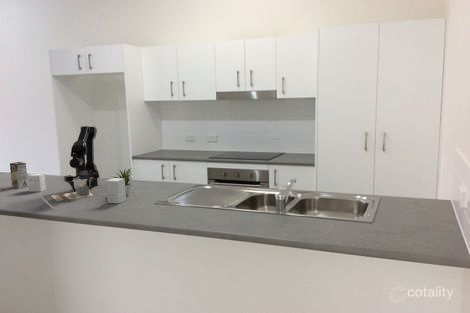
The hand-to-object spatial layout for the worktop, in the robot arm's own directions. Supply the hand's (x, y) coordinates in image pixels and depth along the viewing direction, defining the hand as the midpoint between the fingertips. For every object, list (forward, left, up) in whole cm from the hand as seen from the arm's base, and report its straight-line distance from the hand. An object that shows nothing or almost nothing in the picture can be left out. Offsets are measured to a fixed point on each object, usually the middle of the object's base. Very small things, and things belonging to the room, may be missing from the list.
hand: (82, 191), depth 230 cm
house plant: (-21, +14, -3) cm, 25 cm away
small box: (+19, -32, -3) cm, 37 cm away
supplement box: (-11, +27, -3) cm, 29 cm away
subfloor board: (+6, 0, -3) cm, 7 cm away
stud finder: (0, 0, -2) cm, 2 cm away
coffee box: (+26, -52, -3) cm, 58 cm away
